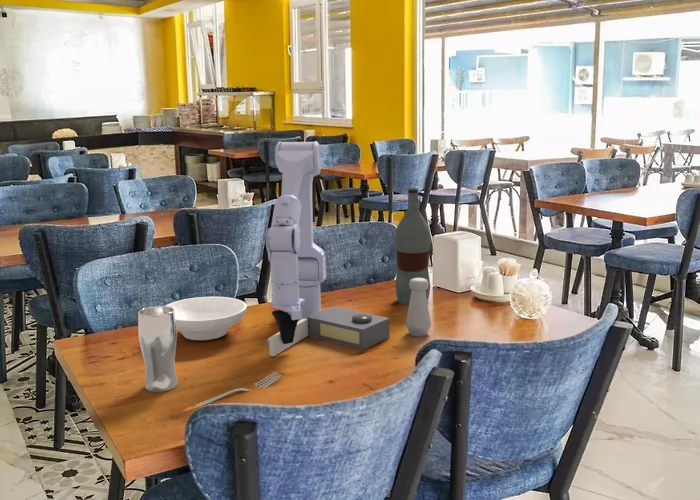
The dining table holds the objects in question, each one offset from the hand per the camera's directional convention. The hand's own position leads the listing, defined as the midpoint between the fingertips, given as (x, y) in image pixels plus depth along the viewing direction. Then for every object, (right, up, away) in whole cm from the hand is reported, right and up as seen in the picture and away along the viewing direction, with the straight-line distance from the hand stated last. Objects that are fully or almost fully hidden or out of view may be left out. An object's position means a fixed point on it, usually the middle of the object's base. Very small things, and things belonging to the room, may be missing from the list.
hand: (287, 342), depth 159 cm
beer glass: (-23, -6, -17) cm, 29 cm away
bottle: (+30, +6, +38) cm, 49 cm away
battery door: (0, -1, +4) cm, 5 cm away
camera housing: (+13, 0, +10) cm, 16 cm away
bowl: (-20, 0, +12) cm, 23 cm away
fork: (-10, -8, -23) cm, 26 cm away
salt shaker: (+29, 0, +11) cm, 31 cm away
